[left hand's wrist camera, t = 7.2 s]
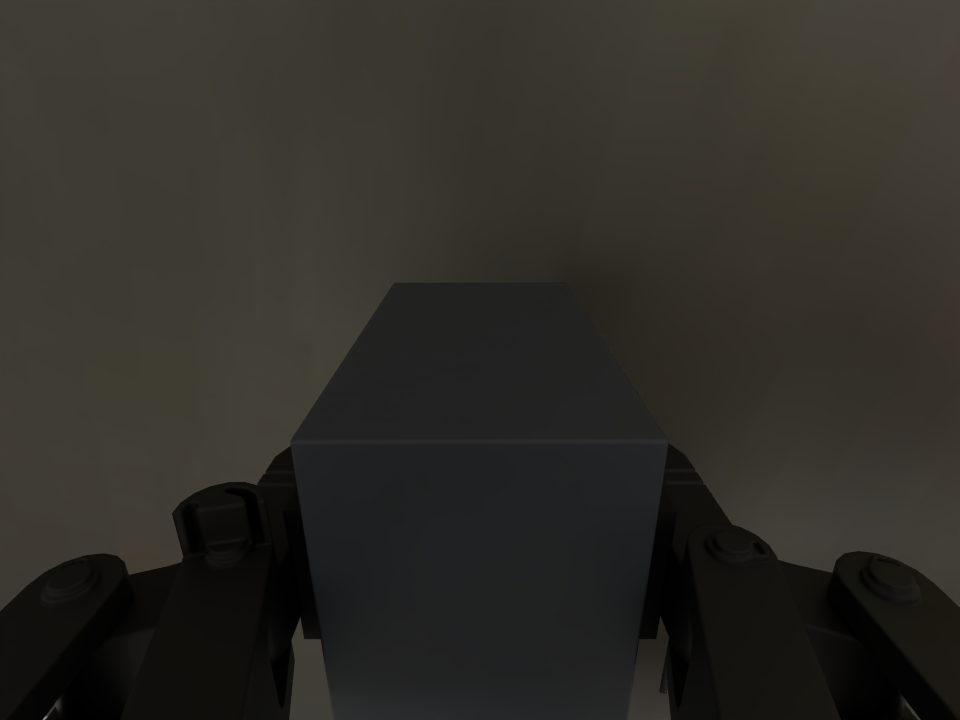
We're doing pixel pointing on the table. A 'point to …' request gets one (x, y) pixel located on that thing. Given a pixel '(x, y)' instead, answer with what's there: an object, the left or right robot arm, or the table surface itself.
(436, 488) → the bar
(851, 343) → the table surface
